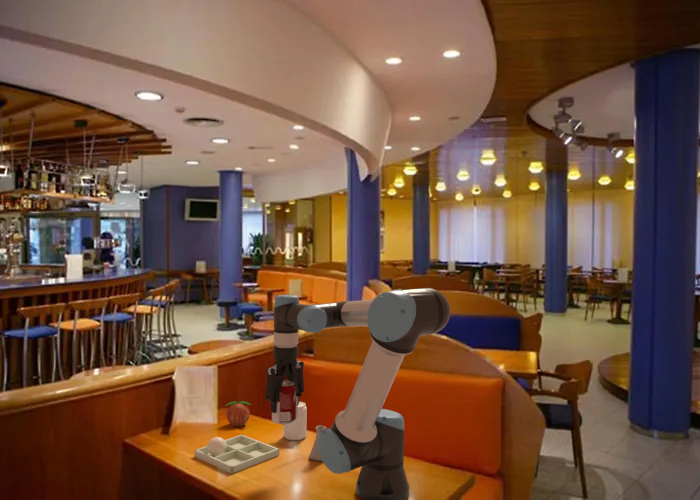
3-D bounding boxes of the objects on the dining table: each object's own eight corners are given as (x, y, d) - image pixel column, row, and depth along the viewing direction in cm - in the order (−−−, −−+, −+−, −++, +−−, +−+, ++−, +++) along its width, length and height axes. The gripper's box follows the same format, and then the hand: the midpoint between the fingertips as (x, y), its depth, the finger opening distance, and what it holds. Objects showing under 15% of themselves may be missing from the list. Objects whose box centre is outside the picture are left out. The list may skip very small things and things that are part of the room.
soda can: (291, 425, 167) (292, 386, 166) (270, 423, 168) (271, 384, 168) (298, 418, 173) (299, 380, 173) (277, 416, 175) (278, 379, 174)
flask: (304, 459, 180) (305, 428, 180) (316, 451, 187) (317, 422, 186) (324, 463, 177) (324, 432, 176) (335, 455, 183) (335, 426, 183)
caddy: (279, 457, 180) (279, 448, 180) (231, 476, 166) (232, 467, 166) (241, 443, 193) (241, 434, 193) (194, 459, 178) (194, 450, 178)
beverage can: (280, 435, 201) (281, 402, 201) (301, 432, 205) (302, 399, 204) (287, 442, 194) (288, 408, 194) (309, 439, 197) (310, 406, 197)
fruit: (248, 429, 207) (249, 402, 206) (222, 429, 206) (223, 402, 206) (251, 421, 215) (252, 395, 215) (226, 421, 215) (227, 395, 215)
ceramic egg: (230, 455, 179) (230, 437, 179) (214, 461, 175) (214, 442, 174) (218, 450, 183) (219, 432, 183) (203, 456, 178) (203, 437, 178)
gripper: (300, 339, 180) (299, 409, 180) (252, 348, 165) (251, 424, 165) (316, 342, 175) (315, 414, 176) (269, 351, 160) (268, 430, 161)
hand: (284, 419), depth 170 cm, fingers closed on soda can, 7 cm apart
